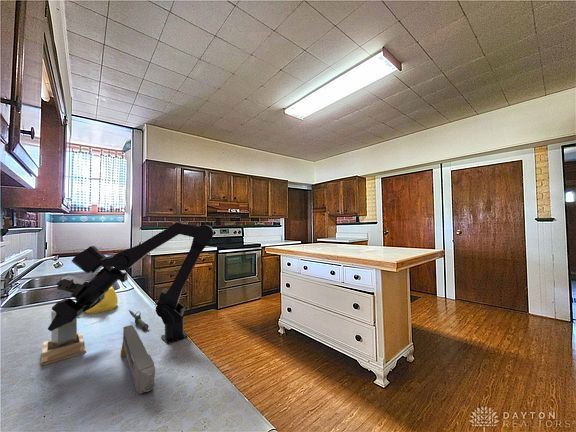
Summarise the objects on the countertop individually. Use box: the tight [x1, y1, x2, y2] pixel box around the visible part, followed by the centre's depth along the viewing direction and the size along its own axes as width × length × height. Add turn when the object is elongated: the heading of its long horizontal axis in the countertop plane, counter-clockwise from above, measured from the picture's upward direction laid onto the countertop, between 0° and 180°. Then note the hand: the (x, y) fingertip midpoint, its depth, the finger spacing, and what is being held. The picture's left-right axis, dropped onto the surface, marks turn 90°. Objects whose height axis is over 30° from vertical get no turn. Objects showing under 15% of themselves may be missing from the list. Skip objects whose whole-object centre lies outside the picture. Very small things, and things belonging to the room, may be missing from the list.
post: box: [50, 310, 78, 349], centre depth 76 cm, size 4×4×12 cm
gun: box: [119, 324, 156, 395], centre depth 65 cm, size 3×25×15 cm, turn 43°
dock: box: [40, 332, 87, 366], centre depth 75 cm, size 10×10×3 cm
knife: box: [128, 309, 150, 331], centre depth 95 cm, size 19×2×5 cm, turn 49°
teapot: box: [85, 285, 119, 315], centre depth 114 cm, size 22×16×11 cm
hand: (58, 324), depth 75 cm, fingers open, 8 cm apart
